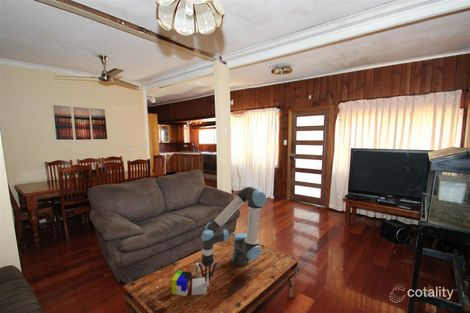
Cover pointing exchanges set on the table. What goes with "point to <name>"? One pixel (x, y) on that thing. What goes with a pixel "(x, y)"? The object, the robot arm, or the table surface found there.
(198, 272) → the dowel
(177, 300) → the table surface
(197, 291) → the slab
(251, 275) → the table surface
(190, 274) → the puzzle toy
